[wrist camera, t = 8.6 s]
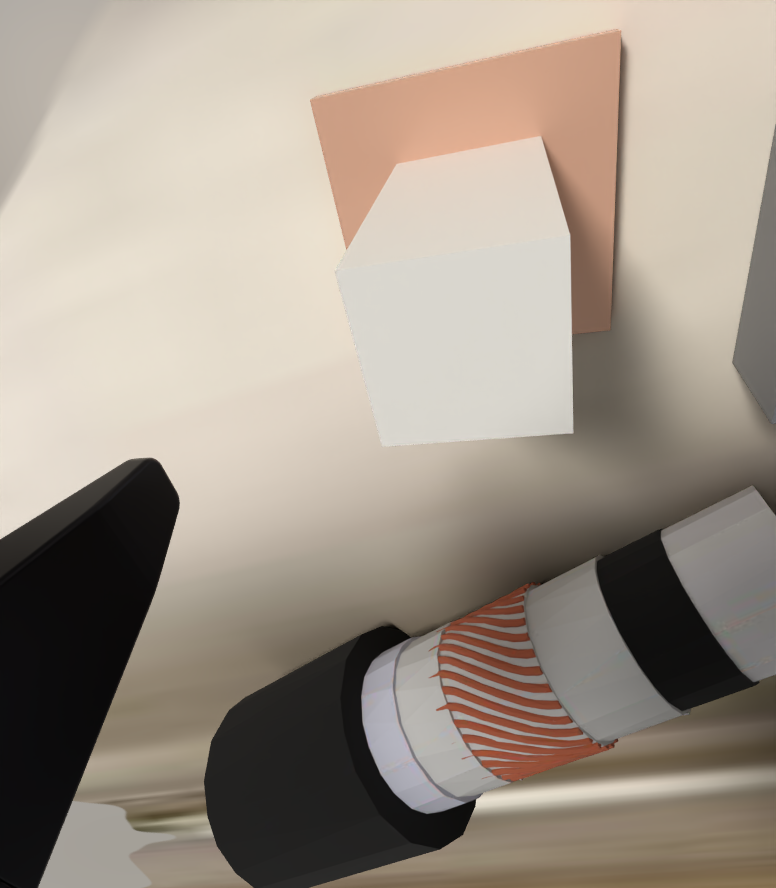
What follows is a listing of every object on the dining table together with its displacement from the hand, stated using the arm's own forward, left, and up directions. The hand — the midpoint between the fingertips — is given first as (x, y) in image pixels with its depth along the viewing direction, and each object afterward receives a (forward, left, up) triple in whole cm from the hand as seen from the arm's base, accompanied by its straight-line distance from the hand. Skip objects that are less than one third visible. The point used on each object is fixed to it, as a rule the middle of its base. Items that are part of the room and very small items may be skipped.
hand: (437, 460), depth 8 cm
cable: (-1, +19, -12) cm, 23 cm away
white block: (0, 0, -11) cm, 11 cm away
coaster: (0, 0, -12) cm, 12 cm away
